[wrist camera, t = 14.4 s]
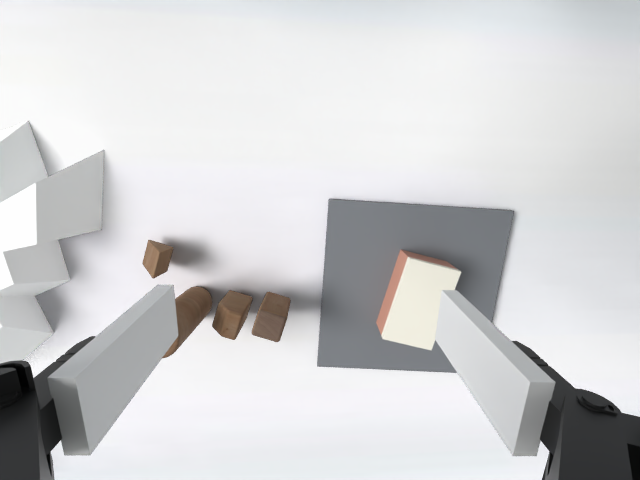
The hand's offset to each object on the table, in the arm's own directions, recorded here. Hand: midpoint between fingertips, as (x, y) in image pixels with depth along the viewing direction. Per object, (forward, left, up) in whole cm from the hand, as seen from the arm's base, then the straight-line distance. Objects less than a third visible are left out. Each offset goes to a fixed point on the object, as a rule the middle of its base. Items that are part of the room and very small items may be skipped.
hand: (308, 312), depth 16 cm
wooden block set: (+9, -11, -24) cm, 28 cm away
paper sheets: (+5, -37, -24) cm, 45 cm away
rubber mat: (+8, +13, -24) cm, 28 cm away
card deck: (+8, +13, -23) cm, 27 cm away
